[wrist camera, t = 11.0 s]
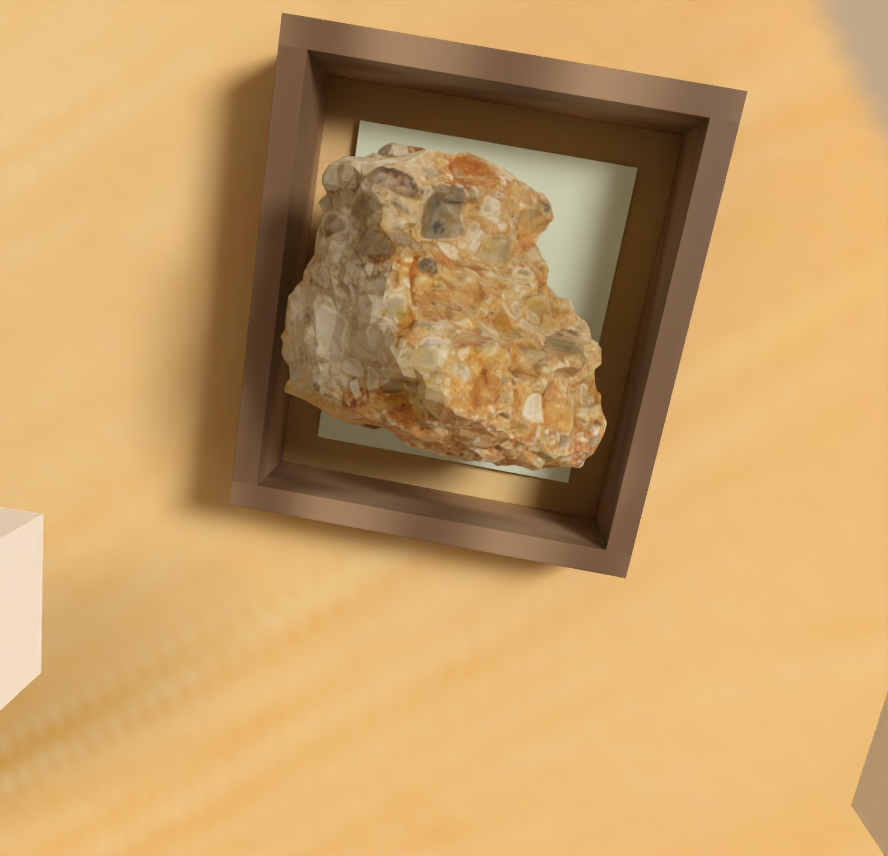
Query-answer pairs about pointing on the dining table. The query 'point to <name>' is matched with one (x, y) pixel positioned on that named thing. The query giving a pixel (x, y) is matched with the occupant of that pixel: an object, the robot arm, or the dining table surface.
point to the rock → (442, 314)
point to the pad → (562, 244)
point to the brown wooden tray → (660, 331)
